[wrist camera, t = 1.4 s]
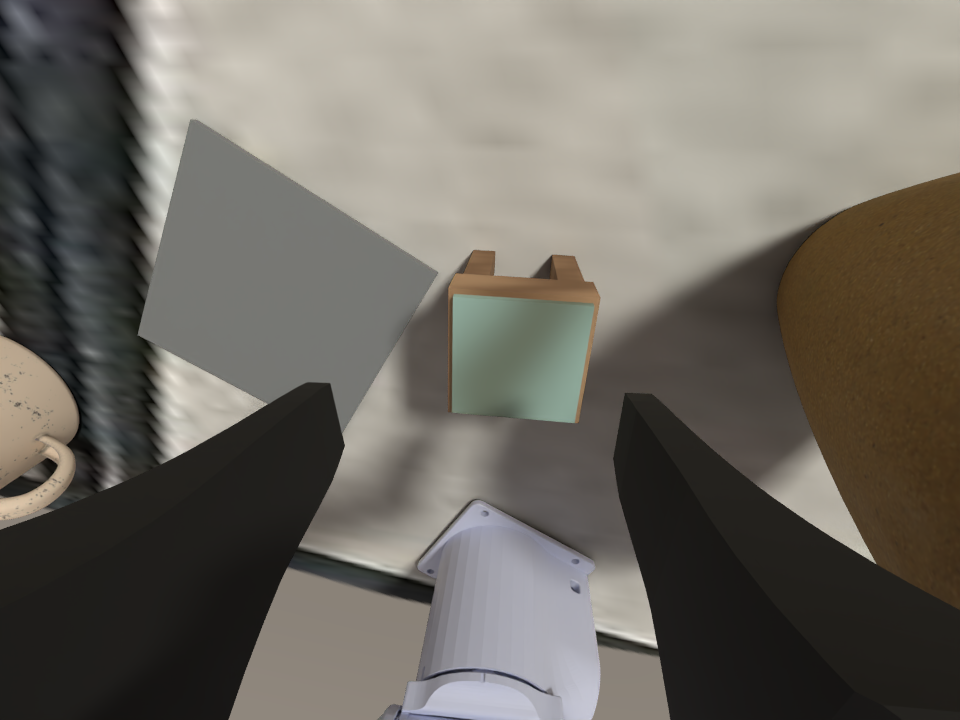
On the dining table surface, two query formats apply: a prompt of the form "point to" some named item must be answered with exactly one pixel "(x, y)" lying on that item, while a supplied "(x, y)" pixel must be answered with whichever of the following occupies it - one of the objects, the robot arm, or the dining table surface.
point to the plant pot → (886, 372)
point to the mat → (274, 280)
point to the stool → (520, 341)
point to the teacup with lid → (33, 427)
